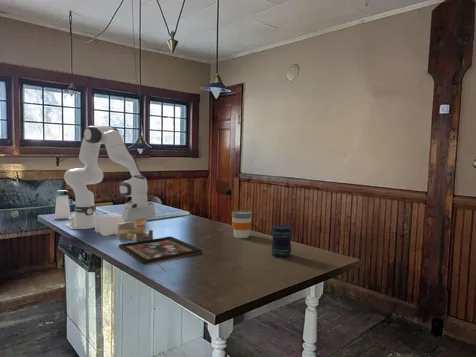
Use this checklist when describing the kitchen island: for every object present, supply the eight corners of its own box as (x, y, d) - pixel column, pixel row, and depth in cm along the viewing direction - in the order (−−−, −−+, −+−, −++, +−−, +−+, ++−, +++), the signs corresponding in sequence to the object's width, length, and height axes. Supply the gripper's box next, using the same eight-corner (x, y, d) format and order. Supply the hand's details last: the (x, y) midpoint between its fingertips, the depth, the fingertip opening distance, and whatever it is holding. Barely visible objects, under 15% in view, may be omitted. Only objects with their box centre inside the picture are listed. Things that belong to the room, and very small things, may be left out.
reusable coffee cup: (255, 236, 220) (256, 212, 219) (242, 240, 211) (242, 214, 210) (240, 232, 229) (241, 209, 227) (227, 236, 219) (227, 211, 218)
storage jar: (286, 259, 176) (286, 229, 174) (268, 256, 181) (268, 227, 179) (294, 254, 184) (295, 226, 183) (276, 251, 189) (277, 223, 188)
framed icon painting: (208, 252, 187) (208, 246, 187) (148, 268, 162) (148, 262, 162) (167, 238, 214) (167, 234, 214) (111, 250, 189) (111, 245, 189)
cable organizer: (99, 237, 212) (98, 217, 211) (94, 233, 221) (94, 214, 219) (124, 233, 220) (124, 215, 219) (119, 230, 229) (119, 212, 228)
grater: (55, 216, 269) (54, 189, 267) (70, 215, 273) (69, 189, 272) (54, 219, 259) (53, 191, 258) (70, 218, 264) (69, 191, 262)
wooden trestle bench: (118, 239, 208) (117, 223, 207) (143, 233, 222) (143, 219, 221) (132, 243, 200) (131, 227, 199) (157, 237, 214) (157, 222, 213)
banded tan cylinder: (134, 231, 209) (134, 219, 208) (140, 230, 212) (140, 218, 212) (139, 232, 206) (139, 220, 206) (145, 231, 210) (145, 219, 209)
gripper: (150, 200, 218) (150, 223, 219) (121, 204, 202) (121, 229, 203) (157, 202, 214) (157, 224, 215) (127, 206, 198) (128, 230, 199)
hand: (139, 226), depth 209 cm, fingers closed on banded tan cylinder, 4 cm apart
